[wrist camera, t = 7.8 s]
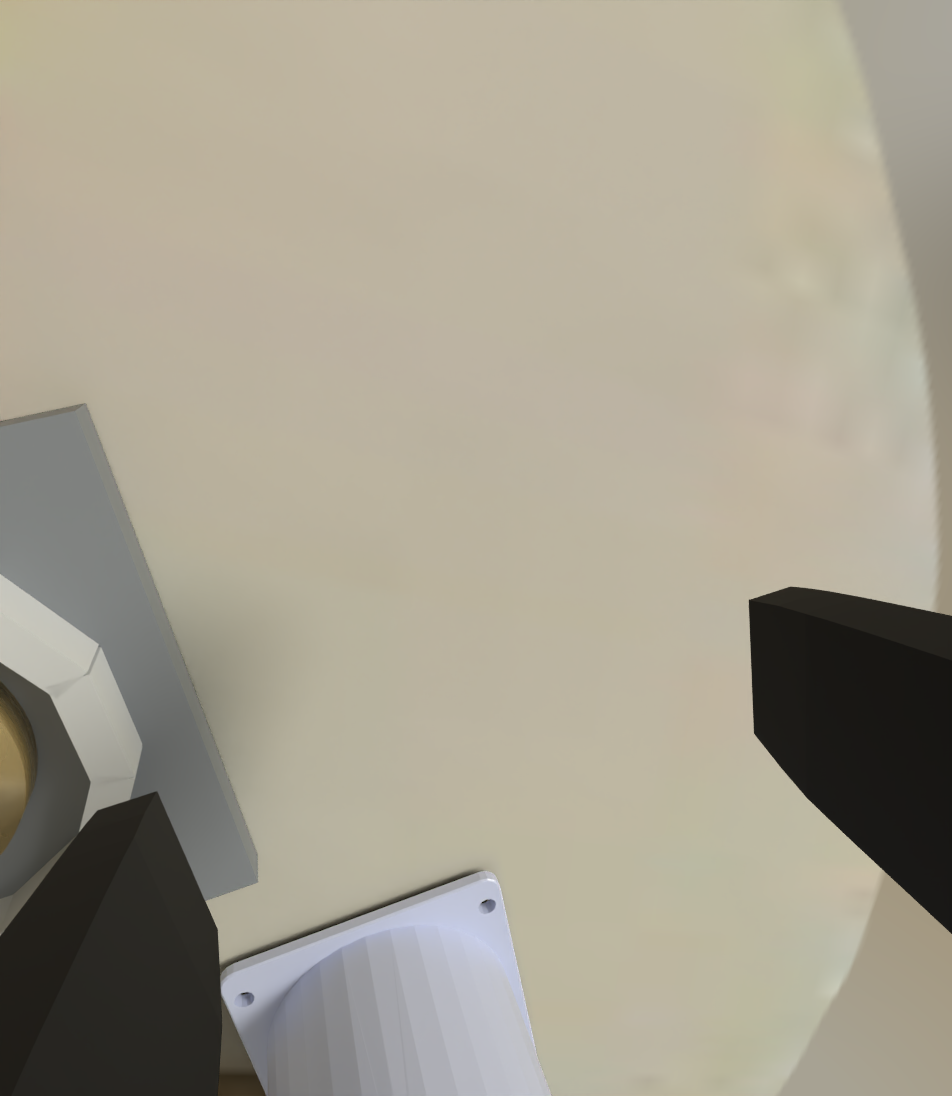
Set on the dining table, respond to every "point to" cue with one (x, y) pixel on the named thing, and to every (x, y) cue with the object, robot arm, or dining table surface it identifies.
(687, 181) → the dining table surface
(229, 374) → the dining table surface
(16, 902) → the carrier plate
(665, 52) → the dining table surface
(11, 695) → the brass cabinet knob
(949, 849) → the robot arm
